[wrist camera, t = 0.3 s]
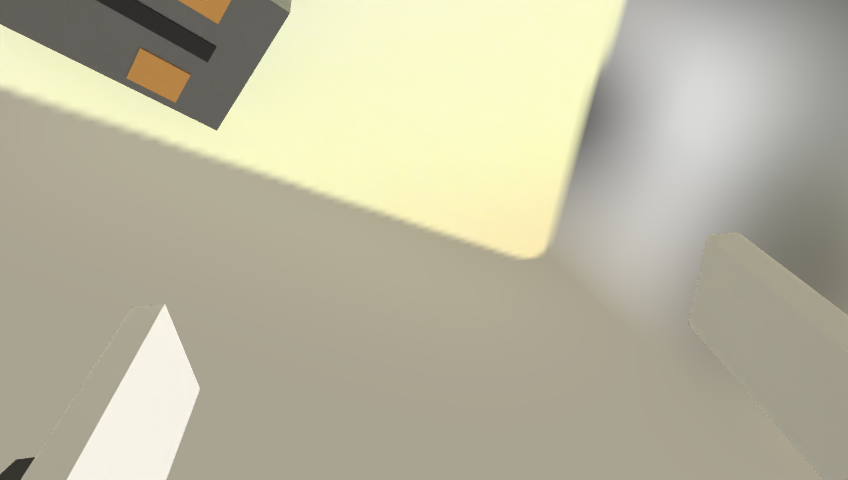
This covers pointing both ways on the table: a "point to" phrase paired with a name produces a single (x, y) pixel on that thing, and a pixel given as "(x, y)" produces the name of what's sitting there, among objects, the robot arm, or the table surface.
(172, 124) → the table surface
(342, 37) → the table surface
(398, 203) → the table surface
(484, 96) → the table surface
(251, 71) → the fader panel
